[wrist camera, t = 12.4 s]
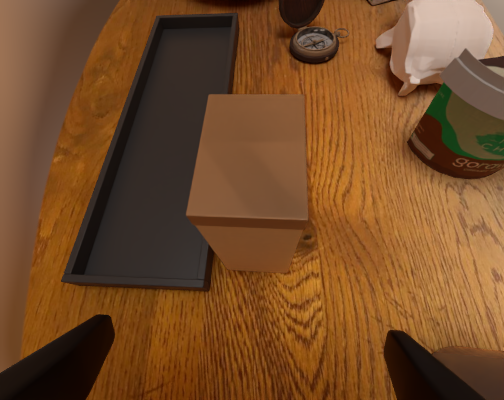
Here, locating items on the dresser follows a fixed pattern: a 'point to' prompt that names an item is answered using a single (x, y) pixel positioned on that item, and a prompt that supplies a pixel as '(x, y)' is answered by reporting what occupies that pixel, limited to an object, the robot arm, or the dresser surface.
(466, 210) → the dresser surface
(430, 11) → the white bird figurine
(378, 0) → the small box
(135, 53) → the dresser surface
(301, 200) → the packet
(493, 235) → the dresser surface
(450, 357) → the cylinder
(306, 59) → the compass
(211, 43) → the tray
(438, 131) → the food container
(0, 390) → the robot arm
